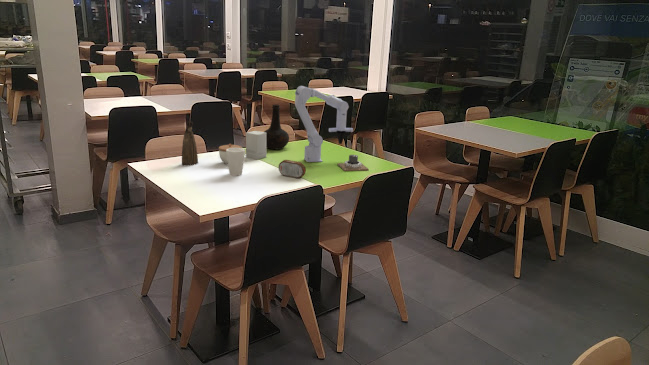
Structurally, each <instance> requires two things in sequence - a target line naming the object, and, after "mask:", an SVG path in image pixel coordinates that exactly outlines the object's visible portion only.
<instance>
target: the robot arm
mask: <svg viewBox="0 0 649 365" xmlns="http://www.w3.org/2000/svg"><path fill="white" fill-rule="evenodd" d="M294 94H295V97H294V98H295V99H294V106H295V108H296V110H297V113H298V115H299V117H300V120H301V121H302V122H301V123H303V126H304V128H305V130H306V135H307V141H308V145H305V146H304V155H303V156H304V158H303V159H304V160H305V161H306V162H307V163H311V162H312V163H315V162H316V163H317V162H323V160H322V159H321V157H322V144H323V142H324V139H323V137H322V136H321V135H320V134H319V132H318V131H317V129H316V127H315V125H314V123H313V121H312V118H311V116H310V114H309V112H308V110H307V108H306V104H307V101H308V100H309V99H310V98H314V97H316V98H319V99H320V100H323V101H325V103H326V105H328V106H330V107H332V108H335V109H336V123H335V124H336V125H335V126H336V127H328V132H329V133H334V132H335V134H336V137H337V140H338V141H337V142H338V144H339V145H342V144H343V141H344V138H345V136H346V134H347V133H349V132H350V133H353V132H354V128H353V127H347V114H348V109H349V108H350V106H349V103H348V102H347V101H344V100H342V98H339V97H336V95H335V94H329V95H327V94H325V93H323V92H321V91H319V90H317V89H314V88H310V87H308V86H304V85H299V86H298V87H297V88H296V89H295V93H294Z"/></svg>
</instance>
